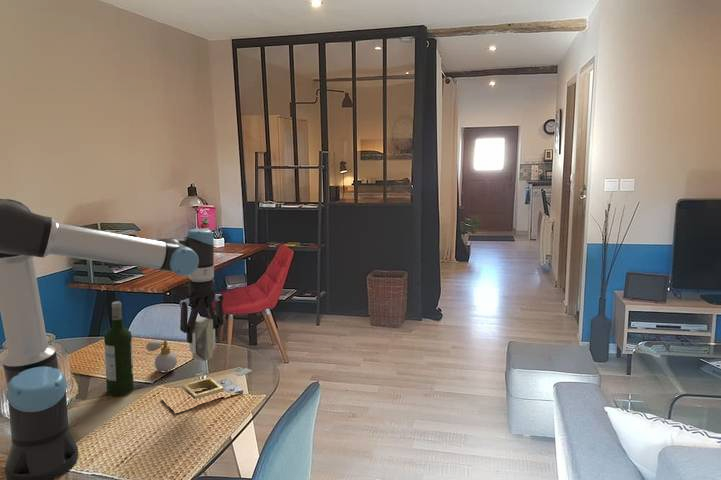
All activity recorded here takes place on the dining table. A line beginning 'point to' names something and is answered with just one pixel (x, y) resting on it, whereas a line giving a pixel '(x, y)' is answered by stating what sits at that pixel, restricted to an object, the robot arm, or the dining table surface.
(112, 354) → the wine bottle
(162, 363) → the perfume bottle
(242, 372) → the mounting bracket
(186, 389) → the square hole socket
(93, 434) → the dining table surface
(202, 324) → the box
